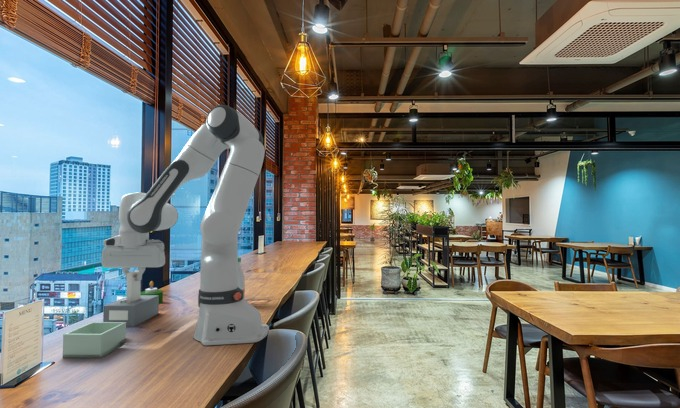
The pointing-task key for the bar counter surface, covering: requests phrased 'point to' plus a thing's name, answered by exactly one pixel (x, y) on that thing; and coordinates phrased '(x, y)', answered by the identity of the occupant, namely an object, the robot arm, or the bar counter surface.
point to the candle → (153, 292)
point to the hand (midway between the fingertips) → (133, 280)
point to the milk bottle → (241, 277)
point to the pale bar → (133, 287)
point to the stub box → (94, 340)
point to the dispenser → (131, 310)
